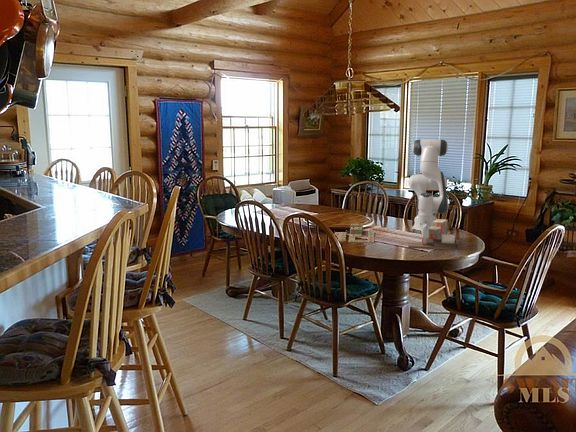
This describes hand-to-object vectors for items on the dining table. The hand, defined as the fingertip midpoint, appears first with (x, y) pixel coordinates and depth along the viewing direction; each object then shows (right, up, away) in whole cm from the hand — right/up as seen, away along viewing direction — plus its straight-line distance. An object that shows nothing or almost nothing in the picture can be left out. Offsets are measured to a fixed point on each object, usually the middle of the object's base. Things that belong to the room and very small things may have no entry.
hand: (424, 242), depth 304 cm
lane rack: (+5, -3, -1) cm, 6 cm away
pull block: (+8, -2, -1) cm, 8 cm away
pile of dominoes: (-39, +2, +29) cm, 49 cm away
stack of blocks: (+12, 0, +16) cm, 20 cm away
